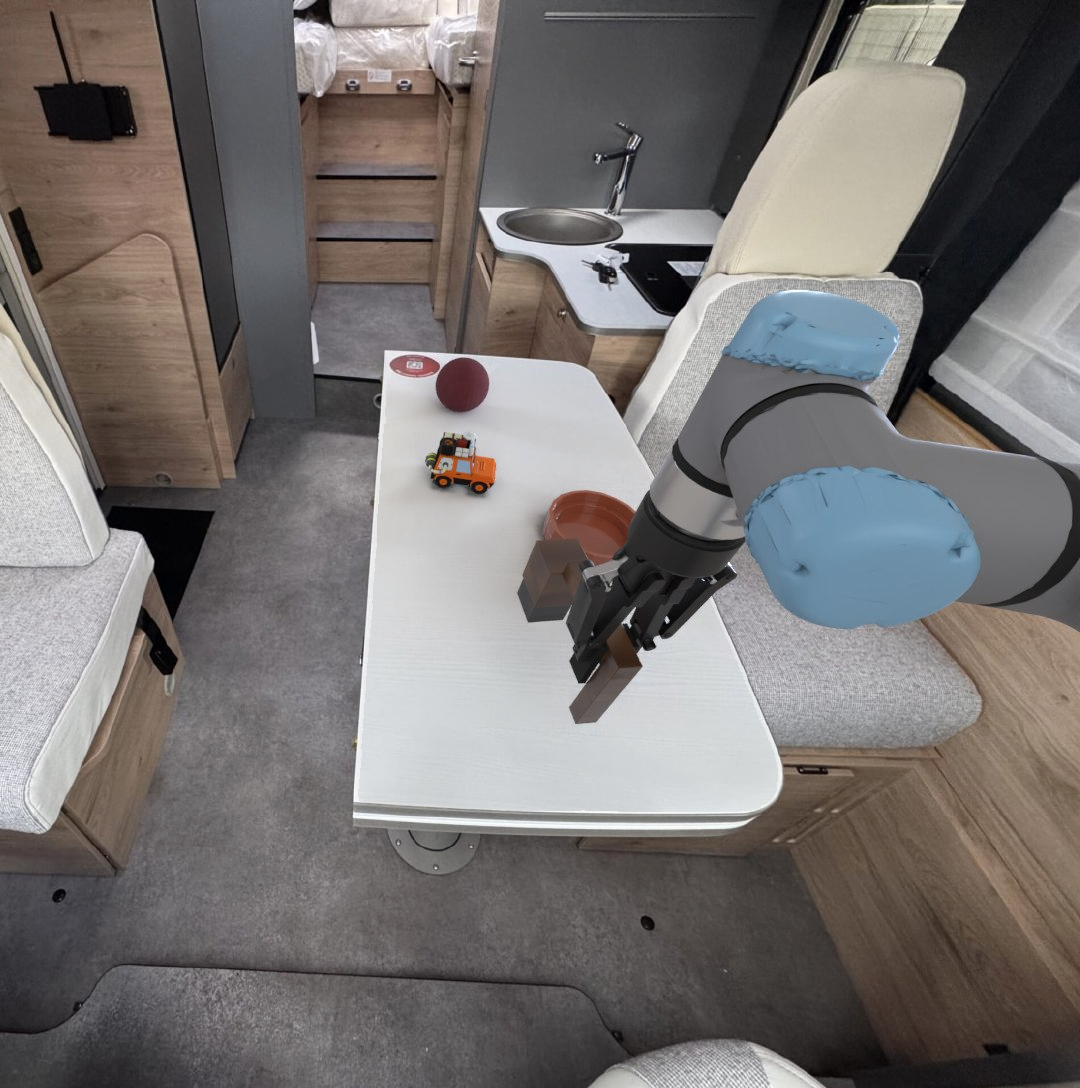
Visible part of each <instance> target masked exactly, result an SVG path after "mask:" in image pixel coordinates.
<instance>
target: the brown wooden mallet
mask: <svg viewBox="0 0 1080 1088" xmlns="http://www.w3.org/2000/svg"><path fill="white" fill-rule="evenodd" d="M586 560H590V559H588V558H587V556H586V554H585V552H584V550H583V548H582V546H581V544H580V542H579V540H578V538H568V539H551V540H546V539H537V540H535V543H534V545H533V548H532V551H531V553H530V555H529V557H528V560H527V562H526V565H525V567H524V569H523V572H522V573H521V576H522V580H521V583H520V585H519V587H518V589H517V592H516V594H517V597H518V600H519V603H520V605H521V608H522V611H523V613H524V616H525V619H526V622H527V623H542V622H543V623H545V622H555V621H563V620H565V618H566V617H567V614H568V613H569V612H570V609H571V606H572V603H573V600H574V597H575V594H576V591H577V589H578V586H579V583H580V580H581V575H580V571H579V565H580V563H582V562H583V561H586ZM622 624H623V622H622V623H621V624H620V625H619V627H618V628H617V629H616V630H615V631H614V632H613V634H612V635H611V636H610V637H609V638H608V639H607V641H606V642H605V643H606V646H607V648H608V650H607V652H606V653H605V655H604V656H603V658H602V659H601V664H598V665H597V667H596V668H595V670H594V671H593V673H592V674H591V676H590V677H589V679H588V680H587V682H586V683H584V686H583V687H582V689H581V690H580V691H579V692H578V694H577V695H576V697H575V698H574V699H573V701H572V702H571V704H570V705H569V706H568V709H569V711H570V714H571V717H572V720H573V723H574V725H583V724H594V723H597V722H598V721H599V720H600V719H601V718H602V716H603V715H604V714H605V712H606V711H607V710H608V709H609V708H610V707H611V706H612V704H613V703H614V702H615V701H616V700H617V698H618V697H620V695H621V693H622V692H623V691H624V690H625V689H626V687H627V686H628V685H629V684H630V683H631V681H633V679H634V678H635V677H636V676H637V674H638V673H639V672H640V670H642V668H643V667H644V666H643V664H642V661H641V660H640V657H639V656H638V653H636V651H635V649H634V647H633V645H632V643H631V641H630V639H629V637H628V635H627V633H626V631H625V629H624V627H623V625H622Z"/></svg>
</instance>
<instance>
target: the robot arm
mask: <svg viewBox="0 0 1080 1088" xmlns="http://www.w3.org/2000/svg"><path fill="white" fill-rule="evenodd" d="M899 338H900V331H899V329H898V326H897V325H896V324H895V323H894V321H892V320H891V319H890V318H889V317H888V316H887V315H886V314H884V313H882V312H881V311H879V310H877V309H876V308H875V307H871V306H870V305H867V304H865V303H863V302H860V301H858V300H855V299H852V298H849V297H845V296H842V295H839V294H834V293H829V292H823V291H815V290H806V289H805V290H804V289H793V290H784V291H778V292H777V291H776V292H774V293H771V294H769V295H766V296H764V297H763V298H762V299H760V300H758V302H756V303H755V304H754V305H753V306H752V307H751V309H750V310H749V312H748V313H747V315H746V316H745V318H744V320H743V322H742V323H741V325H740V326H739V328H738V329H737V331H736V332H735V334H734V336H733V337H732V338H731V340H730V341H729V343H728V345H726V346H724V347H723V349H722V351H721V356H720V358H719V361H718V362H717V364H716V366H715V368H714V370H713V372H712V373H711V374H710V377H709V379H708V381H707V383H706V384H705V386H704V387H703V390H702V392H701V394H700V396H699V397H698V399H697V401H696V403H695V404H694V406H693V409H692V410H691V412H690V414H689V416H688V418H687V420H686V422H685V423H684V426H683V427H682V429H681V430H680V433H679V434H678V436H677V438H676V440H675V441H674V443H673V445H672V446H671V448H670V449H669V452H668V453H667V455H666V456H665V458H664V460H663V462H662V464H661V466H660V467H659V469H658V471H657V472H656V474H655V476H654V478H653V480H651V483H650V485H649V489H648V490H647V491H646V493H645V495H644V496H643V498H642V499H641V501H640V503H639V505H638V506H637V509H636V510H635V511H636V512H635V514H634V516H633V518H632V519H631V522H630V525H629V531H628V538H627V542H626V544H625V545H624V546H623V547H621V548H620V549H619V550H618V551H616V552H615V554H614V555H613V558H612V561H609V562H606V563H603V564H600V565H598V566H594V564H593V562H592V561H591V560H586V561H583V562H582V563H580V565H579V571H580V575H581V580H580V583H579V586H578V589H577V591H576V594H575V597H574V600H573V603H572V605H571V607H570V609H569V611H568V615H567V616H566V621H565V625H566V627H567V630H568V632H569V634H570V637H571V639H572V642H573V645H572V652H573V654H572V655H571V656H570V659H569V660H568V662H569V664H570V668H571V669H572V673H573V675H574V676H575V678H576V681H577V684H578V685H581V684H586V683H587V682H588V680H589V679H590V677H591V676H592V675H593V673H594V672H595V670H596V669H597V668H598V666H599V665H600V664H601V659H602V658H603V656H604V655H605V653H606V652H607V650H608V648H607V646H606V643H605V642H606V641H607V639H608V638H609V637H610V636H611V635H612V634H613V632H614V631H615V630H616V629H617V628H618V627H619V625H620V624H621V623H622V625H623V627H624V629H625V631H626V633H627V635H628V637H629V639H630V641H631V643H632V645H633V647H634V649H635V651H636V653H637V654H638V653H639V652H640V650H641V649H643V650H644V652H651V651H653V650H655V649H657V644H656V643H655V641H654V639H655V638H656V637H660V639H662V640H669V639H670V638H672V637H673V636H674V635H675V634H676V633H677V632H678V631H679V630H680V629H681V628H682V627H683V626H684V625H685V624H686V623H687V622H688V621H689V620H690V619H691V618H692V617H693V616H694V615H695V614H696V613H697V612H698V611H699V610H700V609H701V608H702V606H704V604H706V603H707V602H708V600H709V599H711V597H713V595H714V594H716V592H717V591H719V590H720V589H722V588H723V587H725V586H726V585H728V584H729V583H731V582H732V581H734V580H735V579H736V578H737V577H738V573H737V572H736V570H735V569H734V568H733V566H732V565H731V563H730V561H731V560H732V559H733V558H734V557H735V555H736V554H737V553H738V551H739V550H740V549H741V548H742V547H743V545H744V544H745V543H746V546H747V547H748V550H749V553H750V555H751V557H752V558H753V559H754V560H755V563H757V564H758V565H759V568H760V570H761V572H762V574H763V576H764V578H765V581H766V583H767V585H768V587H769V589H770V592H771V593H772V596H773V597H774V598H775V599H776V601H777V602H778V603H779V604H780V606H781V607H782V608H784V609H785V610H786V611H788V612H789V613H790V614H792V615H793V616H795V617H797V618H798V619H801V620H803V621H805V622H808V623H810V624H813V625H816V626H820V627H825V628H830V629H838V630H848V631H849V630H854V629H857V628H859V627H862V626H865V625H876V626H878V627H880V628H889V627H895V626H901V625H904V624H909V623H911V622H914V621H918V620H921V619H924V618H926V617H928V616H931V615H933V614H935V613H937V612H940V611H941V610H943V609H945V608H947V607H949V606H950V605H952V604H954V603H955V602H957V603H963V604H970V605H976V606H982V607H988V608H993V609H997V610H998V609H1000V610H1003V611H1009V612H1016V613H1020V614H1021V613H1022V614H1026V615H1027V614H1028V615H1033V616H1040V617H1043V618H1046V619H1050V620H1053V621H1056V622H1058V623H1061V624H1063V625H1065V626H1068V627H1070V628H1071V629H1073V630H1075V631H1077V632H1079V633H1080V463H1077V462H1076V463H1075V462H1069V461H1061V460H1054V459H1053V460H1051V459H1048V458H1047V457H1039V456H1030V455H1025V454H1018V453H1012V452H1005V451H996V450H991V449H984V448H979V447H969V446H962V445H956V444H950V443H944V442H943V443H942V442H936V441H935V442H934V441H928V440H921V439H914V438H910V437H907V436H905V435H903V434H901V433H899V431H898V430H897V429H896V428H895V426H894V425H893V424H892V422H891V421H890V420H889V418H888V417H887V415H886V414H885V413H884V412H883V409H881V407H880V406H879V405H878V404H877V402H876V399H874V397H873V396H872V395H871V393H870V392H869V391H868V389H869V388H870V387H871V385H873V383H875V381H876V380H877V379H880V378H881V376H882V375H883V374H884V373H885V368H886V366H887V364H888V363H889V361H891V358H892V357H893V355H894V353H895V352H896V350H897V348H898V345H899ZM633 610H634V611H633ZM632 611H633V613H632ZM631 613H632V616H631V618H630V620H629V624H628V623H627V622H626V623H623V622H624V621H625V620H626V618H627V617H628V616H629V615H630V614H631ZM667 619H668V621H667ZM629 625H630V626H629Z"/></svg>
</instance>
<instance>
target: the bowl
mask: <svg viewBox="0 0 1080 1088" xmlns="http://www.w3.org/2000/svg"><path fill="white" fill-rule="evenodd" d="M635 512H636V510H635V509H633V507H632V506H630V505H629V504H627V503H626V502H624V501H622V500H621V499H619V498H617V497H615V496H612V495H610V494H607V493H603V492H601V491H595V490H588V489H583V490H579V489H578V490H570V491H568V492H565V493H561V494H560V495H558V496H557V497H556V498H555V499H553V501H552V503H551V505H550V506H549V509H548V511H547V514H546V516H545V519H544V521H543V523H542V535H543V537H544V540H551V539H568V538H578V540H579V542H580V544H581V546H582V548H583V550H584V552H585V554H586V556H587V558H588V559H590V560H591V561H592V562H593V564H594V566H598V565H600V564H603V563H606V562H609V561H612V558H613V555H614V554H615V552H616V551H618V550H619V549H620V548H621V547H623V546H624V545H625V544H626V542H627V538H628V531H629V525H630V522H631V519H632V518H633V516H634V514H635Z"/></svg>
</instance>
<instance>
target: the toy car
mask: <svg viewBox="0 0 1080 1088" xmlns="http://www.w3.org/2000/svg"><path fill="white" fill-rule="evenodd" d="M477 438H478V436H477V434H476V432H474V431H465V432H464V433H463V434H461V433H456V432H448V431H444V432H443V435H442V437H441V439H440V441H439V444H438V448H437V450H436V453H435V452H428V453H427V455H426V456H425V460H424V463H425V466H426V467H427V468H428V471H429V472H431V473H430V478H429V479H430V480H432V484H434V483H435V485H436V487H438V488H441V489H447V488H449V487H451V485H459V486H466V487H468V488H470V491H472V493H474V494H476V495H482V494H486V492H487V491H488V490H490V489H491V488H492V487H493V486H494V485H495V483H496V482H497V478H496V471H497V470H498V466H497V462H496V459H495V458H493V457H486V456H480V455H477V454H476V453H477V447H476V441H477Z"/></svg>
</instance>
